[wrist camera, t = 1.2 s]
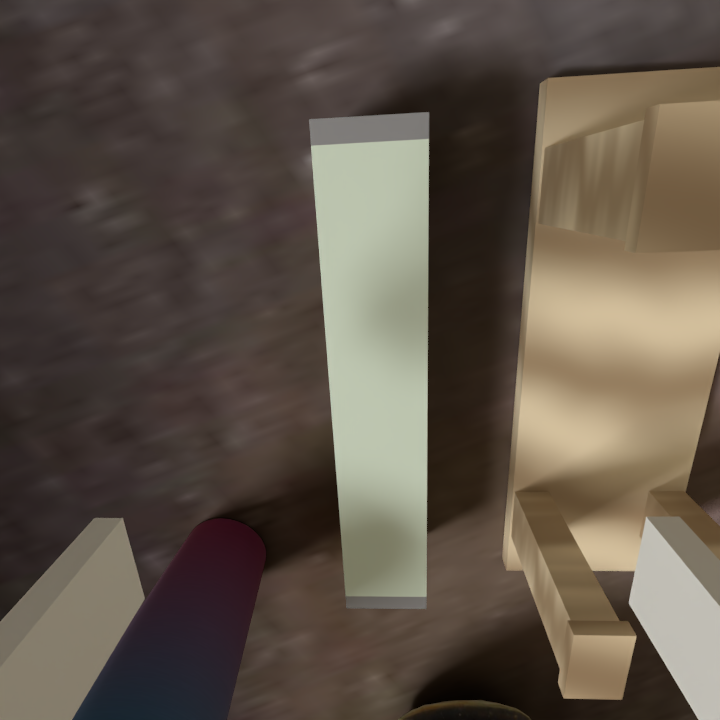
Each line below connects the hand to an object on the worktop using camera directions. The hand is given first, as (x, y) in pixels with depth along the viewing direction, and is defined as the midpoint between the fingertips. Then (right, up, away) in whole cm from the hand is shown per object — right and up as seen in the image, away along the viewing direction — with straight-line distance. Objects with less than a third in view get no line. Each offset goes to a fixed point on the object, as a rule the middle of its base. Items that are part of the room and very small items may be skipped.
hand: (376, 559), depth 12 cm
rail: (+1, +5, +12) cm, 13 cm away
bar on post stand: (+12, +5, +11) cm, 17 cm away
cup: (-9, -7, +17) cm, 20 cm away
